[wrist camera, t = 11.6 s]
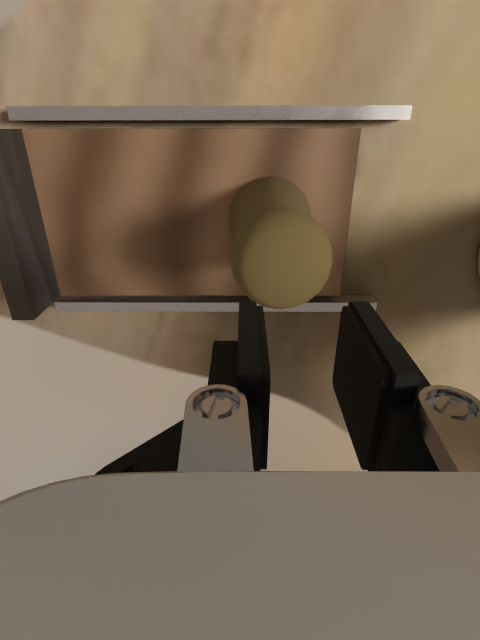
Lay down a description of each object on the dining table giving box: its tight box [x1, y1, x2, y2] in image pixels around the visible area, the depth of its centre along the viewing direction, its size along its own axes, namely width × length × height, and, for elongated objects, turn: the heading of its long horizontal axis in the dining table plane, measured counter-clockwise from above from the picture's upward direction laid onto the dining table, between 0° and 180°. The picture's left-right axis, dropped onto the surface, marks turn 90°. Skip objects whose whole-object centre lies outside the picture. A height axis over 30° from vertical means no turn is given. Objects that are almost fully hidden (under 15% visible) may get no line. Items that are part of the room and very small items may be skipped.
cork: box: [229, 176, 332, 309], centre depth 23 cm, size 6×6×11 cm
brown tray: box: [0, 128, 361, 320], centre depth 27 cm, size 24×12×6 cm, turn 90°
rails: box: [6, 105, 412, 312], centre depth 28 cm, size 26×15×2 cm, turn 90°
